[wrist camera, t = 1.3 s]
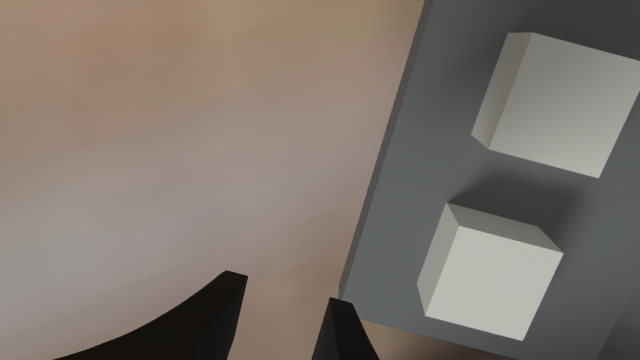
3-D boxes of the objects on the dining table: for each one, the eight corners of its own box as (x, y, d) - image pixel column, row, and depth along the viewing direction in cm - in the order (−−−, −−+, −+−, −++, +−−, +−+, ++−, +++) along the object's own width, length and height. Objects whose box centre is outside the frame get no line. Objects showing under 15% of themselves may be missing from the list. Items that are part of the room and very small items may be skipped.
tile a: (503, 305, 21) (522, 341, 18) (416, 283, 21) (425, 315, 18) (537, 226, 19) (563, 253, 17) (446, 202, 19) (459, 225, 17)
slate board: (563, 343, 24) (586, 377, 21) (339, 285, 24) (337, 312, 21) (721, 27, 19) (774, 26, 17) (440, -49, 19) (452, -61, 16)
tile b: (567, 159, 18) (598, 178, 16) (470, 134, 18) (488, 149, 16) (610, 60, 17) (651, 64, 15) (507, 32, 17) (532, 32, 15)
